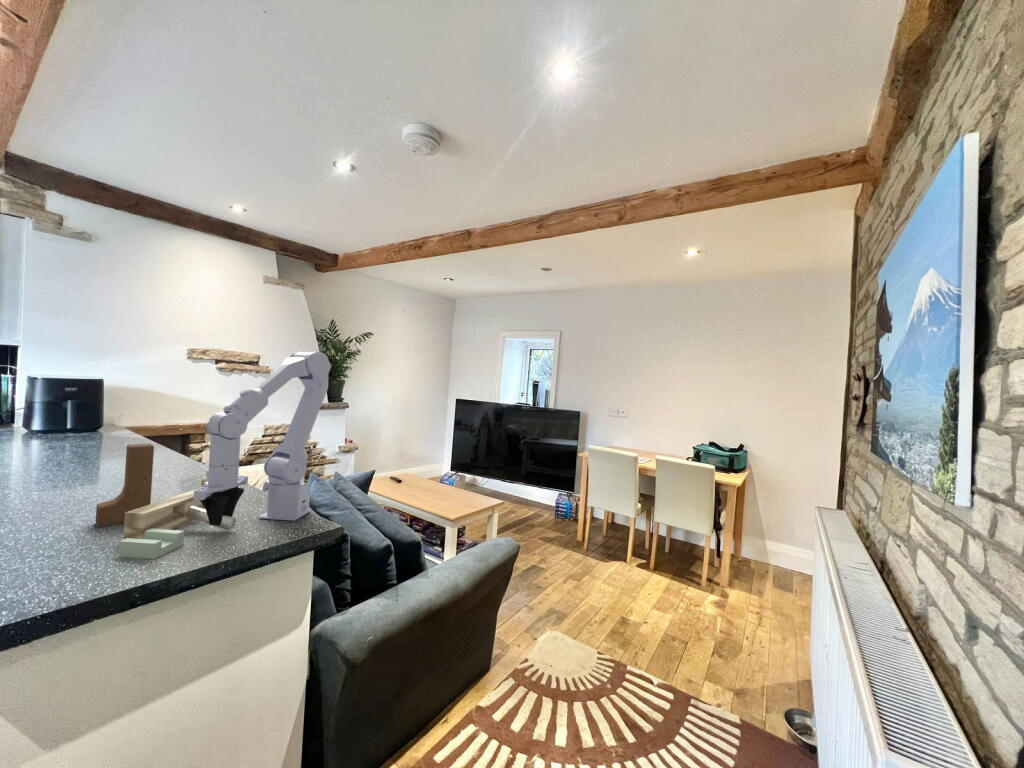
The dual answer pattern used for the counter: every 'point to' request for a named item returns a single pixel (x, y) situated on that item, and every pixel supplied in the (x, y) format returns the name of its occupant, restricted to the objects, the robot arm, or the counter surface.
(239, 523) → the counter surface
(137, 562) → the counter surface
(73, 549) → the counter surface
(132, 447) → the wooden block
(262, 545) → the counter surface
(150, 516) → the beam
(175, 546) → the v block
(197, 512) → the axle
